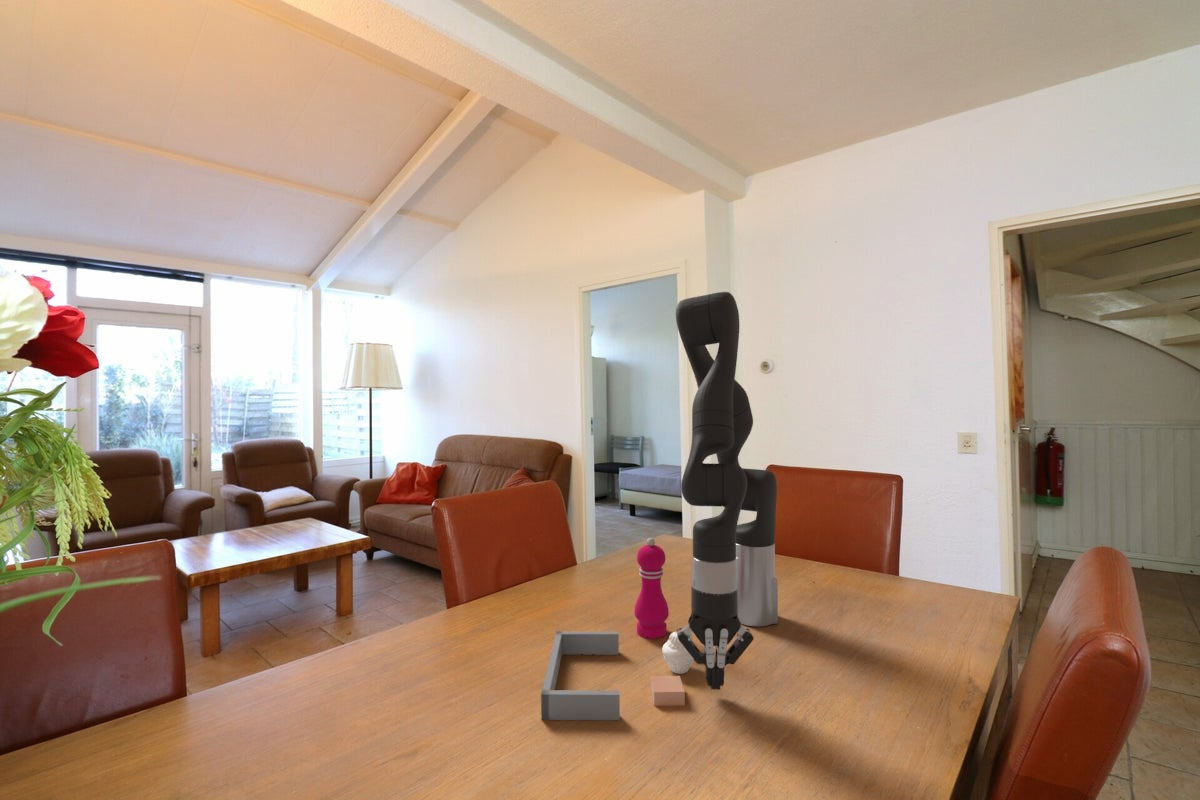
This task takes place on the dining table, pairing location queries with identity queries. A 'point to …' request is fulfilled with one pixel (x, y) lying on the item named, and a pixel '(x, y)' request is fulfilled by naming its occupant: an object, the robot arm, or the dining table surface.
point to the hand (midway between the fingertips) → (714, 687)
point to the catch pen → (579, 701)
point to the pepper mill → (651, 592)
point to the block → (667, 690)
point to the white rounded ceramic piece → (676, 655)
